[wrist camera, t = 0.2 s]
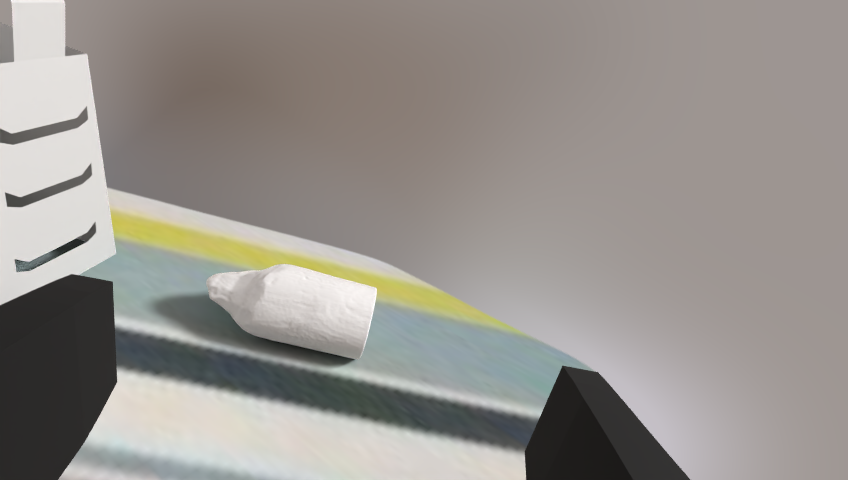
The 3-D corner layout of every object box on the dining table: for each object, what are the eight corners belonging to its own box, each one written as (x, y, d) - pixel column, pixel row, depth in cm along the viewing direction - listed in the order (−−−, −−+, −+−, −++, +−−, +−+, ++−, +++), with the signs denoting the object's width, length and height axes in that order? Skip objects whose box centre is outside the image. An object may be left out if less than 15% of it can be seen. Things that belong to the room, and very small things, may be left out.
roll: (216, 294, 45) (225, 232, 42) (363, 328, 46) (380, 271, 44) (188, 340, 39) (196, 273, 37) (355, 377, 41) (374, 315, 38)
